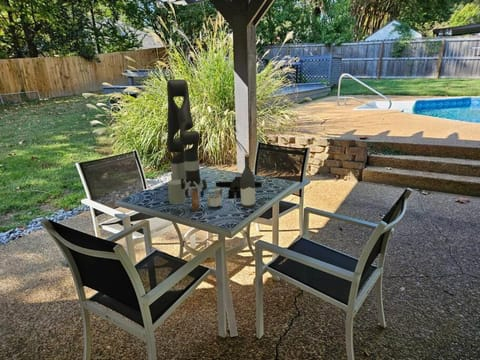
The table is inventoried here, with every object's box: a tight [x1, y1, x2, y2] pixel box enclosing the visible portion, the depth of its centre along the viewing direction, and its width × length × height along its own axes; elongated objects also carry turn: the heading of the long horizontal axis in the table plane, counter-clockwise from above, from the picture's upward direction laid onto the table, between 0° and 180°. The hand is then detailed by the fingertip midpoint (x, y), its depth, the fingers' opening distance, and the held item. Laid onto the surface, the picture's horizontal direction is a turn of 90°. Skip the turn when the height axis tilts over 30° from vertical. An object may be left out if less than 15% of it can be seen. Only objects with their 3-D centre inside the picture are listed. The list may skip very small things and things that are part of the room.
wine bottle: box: [240, 153, 256, 209], centre depth 175 cm, size 8×8×30 cm
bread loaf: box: [189, 187, 200, 211], centre depth 175 cm, size 4×4×12 cm
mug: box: [206, 187, 223, 208], centre depth 180 cm, size 8×13×8 cm, turn 167°
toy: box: [215, 176, 263, 199], centre depth 204 cm, size 30×5×30 cm
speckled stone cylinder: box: [167, 179, 187, 206], centre depth 187 cm, size 10×10×12 cm
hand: (194, 196), depth 174 cm, fingers open, 8 cm apart
